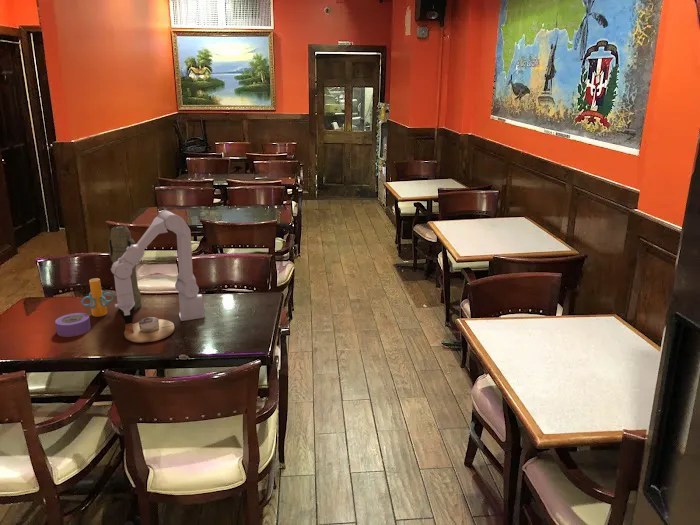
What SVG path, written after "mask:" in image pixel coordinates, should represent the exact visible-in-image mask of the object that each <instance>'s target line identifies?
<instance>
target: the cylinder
mask: <svg viewBox="0 0 700 525" xmlns="http://www.w3.org/2000/svg"><path fill="white" fill-rule="evenodd" d="M88 281H89V288H90V292H89V293H88V296H84V297H83V298H81V302H80V303H81V305H82V306H84V307H90V312H91V316H92V317H95V318H96V317H98V318H99V317H103V316H106V315H107V314H108V313H109V312H108V307H107V306H108V303H111V302H112V301H113V300H114V297H115V296H114V294H113V293H112V292H109V291H108V292H105V291H104V290H102V285H101V279H100V278H98V277H95V278H90V279H89V280H88ZM106 295H109V296H111V298H110V299H109V300H107V298H106ZM86 299H89V303H88V304H87V303H86V304H85V303H84V301H85V300H86Z"/></svg>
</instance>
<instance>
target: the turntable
mask: <svg viewBox="0 0 700 525" xmlns="http://www.w3.org/2000/svg"><path fill="white" fill-rule="evenodd" d="M158 321H159V330H158V331H156V332H153V333H142V332H140V327H139V321H138V322H135V323H133V324H132V323H129V324H125V323H124V324H125V330H124V331H123V333H124V337H125V338H124V339H126V340H127V341H130V342H132V343H150V342H151V343H152V342H156V341H160V340H163V339H166V338H167V337H169V336H171V335H172V334H173V333H174V332H175V324H174V323H173V321H170V320H168V319H162V318H161V319H160V318H158Z"/></svg>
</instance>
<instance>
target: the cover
mask: <svg viewBox="0 0 700 525" xmlns="http://www.w3.org/2000/svg"><path fill="white" fill-rule="evenodd" d="M158 319H159V318H158V317H154V316H148V317H144V318H142V319H140V320H139V321H138V322H139V327H140V332H142V333H153V332H156V331H158V330H159V321H158Z"/></svg>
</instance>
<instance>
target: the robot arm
mask: <svg viewBox="0 0 700 525" xmlns="http://www.w3.org/2000/svg"><path fill="white" fill-rule="evenodd" d="M168 230H169V231H171V232H173V233H174V234H176V243H177V244H176V245H177V246H176V247H177V260H178V262H177V263H178V274H177V275H176V281H175V289H176V290H177V291H178V305H179V313H178V315H179V319H180V322H183V321H185V322H186V321H190V320H196V319H197V320H198V319H204V318H206V317H205V316H206V314H205V310H206V309H205V305H204V298H203V294H202V293H199V292H200V289H199V288H200V287H199V286H198V284H197V279H196V276H195V275H194V273H193V272H194V270H193V251H192V235H191V234H192V232H191V229H190V227H189V226H188V224H187V223H186V221H185V220H184V218H183V217H182V216H180V215H178V214H175V213H173V212H171V211H169V210H166V209H165V210H162V211H160V212H159V213H158V215H157V216H156V217H155V218H153V221H152V222H151V224H150V226H149V227H148V228H147V229H146V231H144V233H143V235H142V236H141V237H140V239H139V240H138V241H137V243H136V244H134V245H131V246H130V247H127V248H126V250H127V251H126V252H125V253H124V254H123V256H122V257H121V258H119V259H118V260H119V261H117V262H114V263H113V262H112V265H111V267H110V271H111V273H112V274H113V278H114V287H115V293H116V299H117V300H116V301H117V303H114V308H118V313H119V315H120V316H121V318H122V319H123V322H124V324H129V323H132V324H134V323H133V322H134V314H135V311H136V310H135V306H134V305H135V302H134V297H133V290H132V283H131V278H130V275H131V274H132V268H133V267H134V266H135V265H136V266H137V264H138V263H139V262H140V260H141V259H142V257H144V256H145V249H146V248H147V247H148V246H149V245H150V244H151V243H152V242H153V240H155V238H156V237H157V236H158V235H160V234H166V233H169V232H168Z"/></svg>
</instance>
